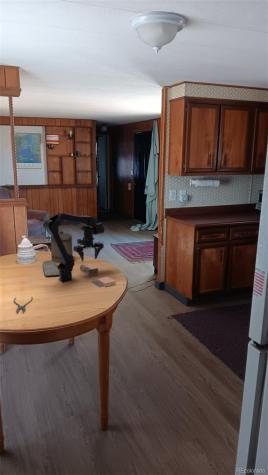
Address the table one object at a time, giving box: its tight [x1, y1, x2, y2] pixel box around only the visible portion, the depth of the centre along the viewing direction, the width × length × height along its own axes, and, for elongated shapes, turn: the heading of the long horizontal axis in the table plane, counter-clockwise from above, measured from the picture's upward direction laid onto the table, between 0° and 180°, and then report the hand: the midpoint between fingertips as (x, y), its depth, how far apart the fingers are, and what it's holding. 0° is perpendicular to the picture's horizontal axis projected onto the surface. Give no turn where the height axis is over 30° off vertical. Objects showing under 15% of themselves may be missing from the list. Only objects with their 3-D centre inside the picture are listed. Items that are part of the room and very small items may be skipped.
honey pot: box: [16, 235, 37, 265], centre depth 244 cm, size 13×13×18 cm
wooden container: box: [50, 229, 74, 264], centre depth 247 cm, size 15×15×22 cm
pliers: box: [13, 296, 34, 315], centre depth 175 cm, size 10×1×20 cm
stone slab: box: [42, 260, 60, 278], centre depth 228 cm, size 10×3×30 cm
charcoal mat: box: [90, 279, 105, 288], centre depth 204 cm, size 11×11×1 cm
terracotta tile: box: [96, 276, 116, 288], centre depth 203 cm, size 7×2×9 cm
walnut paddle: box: [79, 264, 99, 278], centre depth 221 cm, size 16×6×5 cm, turn 36°
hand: (89, 260), depth 218 cm, fingers open, 9 cm apart
